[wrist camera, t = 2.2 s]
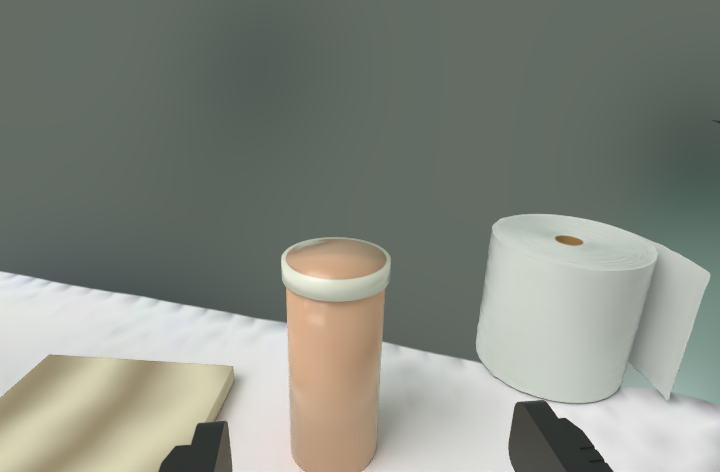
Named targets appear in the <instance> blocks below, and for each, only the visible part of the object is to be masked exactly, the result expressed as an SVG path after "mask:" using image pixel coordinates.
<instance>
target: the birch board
mask: <svg viewBox="0 0 720 472" xmlns="http://www.w3.org/2000/svg"><path fill="white" fill-rule="evenodd" d="M233 382H234V371H233V366H223V365H207V364H191V363H175V362H159V361H144V360H128V359H112V358H96V357H80V356H64V355H48V356H47V357H46V358H45V359H44V360H43V361H42V362H40V363H39V364H38V365H37V366H36V367H35V368H34V369H32V370H31V371H30V372H29V373H28V374H27V375H26V376H25V377H23V378H22V379H21V380H20V381H19V382H18V383H17V384H15V385H14V386H13V387H12V388H11V389H10V390H9V391H8V392H6V393H5V394H4V395H3V396H2V397H1V398H0V472H158V471H159V468H160V465H161V463H162V461H163V460H164V459H165V458H166V457H167V455H168V454H169V453H170V452H171V451H172V449H173V448H174V447H175V446H179V445H191V442H192V439H193V435H194V432H195V428H196V426H197V424H198V423H205V422H215V420H216V418H217V416H218V414H219V411H220V409H221V407H222V405H223V403H224V401H225V399H226V397H227V395H228V393H229V390H230V388H231V386H232V384H233Z"/></svg>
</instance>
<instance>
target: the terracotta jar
mask: <svg viewBox="0 0 720 472" xmlns="http://www.w3.org/2000/svg"><path fill="white" fill-rule="evenodd" d="M281 264H282V281H283V283H284V285H285V286H286V293H287V328H288V363H289V398H290V433H291V452H292V456H293V458H294V460H295V462H296V463H297V465H298V466H299V467H300V468H301V469H302V470H304V471H305V472H360V471H362V470H363V469H365V468H366V467H367V466H368V465H369V464H370V462H371V461H372V459H373V457H374V455H375V451H376V440H377V423H378V405H379V387H380V370H381V352H382V334H383V317H384V299H385V287H386V286H387V285H388V283H389V279H390V265H391V259H390V255H389V254H388V253H387V252H386V251H385V250H384V249H383V248H381V247H379V246H378V245H375V244H373V243H370V242H367V241H363V240H358V239H352V238H342V237H328V238H317V239H311V240H307V241H303V242H300V243H297V244H295V245H293V246H291V247H289V248H288V249H287V250H286V251H285V252H284V253H283V254H282V258H281Z"/></svg>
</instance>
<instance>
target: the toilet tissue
mask: <svg viewBox="0 0 720 472" xmlns="http://www.w3.org/2000/svg"><path fill="white" fill-rule="evenodd" d="M709 279H710V273H709V272H707V271H706V270H705V269H703V268H701V267H700V266H698V265H696V264H695V263H693V262H692V261H690V260H688V259H686V258H684V257H683V256H681V255H680V254H678V253H676V252H673V251H671V250H669V249H668V248H667V247H665V246H663V245H661V244H658V243H655V242H652V241H650V240H648V239H645V238H643V237H641V236H638V235H636V234H633V233H630V232H628V231H625V230H623V229H620V228H617V227H614V226H611V225H608V224H604V223H600V222H596V221H592V220H587V219H582V218H577V217H570V216H562V215H551V214H525V215H516V216H511V217H506V218H501V219H500V220H499V221H497V222H496V223H495V224H494V225H493V226H492V233H491V241H490V246H489V255H488V262H487V269H486V276H485V283H484V291H483V297H482V303H481V307H480V318H479V324H478V327H477V338H476V350H477V353H478V355H479V358H480V360H481V361H482V362H483V364H484V365H485V366H486V368H488V369H489V370H490V371H491V373H492V374H493V376H495V377H497V378H499V379H501V380H502V381H503V382H504V383H505V384H507V385H509V386H511V387H513V388H515V389H517V390H519V391H522V392H525V393H528V394H531V395H533V396H536V397H540V398H544V399H548V400H551V401H558V402H565V403H588V402H596V401H599V400H602V399H605V398H608V397H609V396H611V395H612V394H614V393H615V392H616V391H617V390H618V388H619V387H620V386H621V384H622V382H623V375H624V373H625V371H626V368H627V361H628V362H629V363H630V364H632V365H633V367H634V368H635V369H636V370H637V371H639V372H640V373H641V374H643V375H644V376H645V377H646V378H647V379H648V380H649V381H650V382H651V383H652V384H653V385H654V386H655V387H656V388H657V390H658V391H659V392H660V393H661V394H662V395H663V396H664V397H665V399H666V400H667V402H668V400H669V398H670V393H671V390H672V388H673V386H674V380H675V377H676V374H677V372H678V371H679V365H680V362H681V360H682V359H683V354H684V352H685V351H686V344H687V341H688V340H689V338H690V333H691V331H692V329H693V323H694V320H695V317H696V314H697V311H698V308H699V305H700V302H701V299H702V296H703V293H704V290H705V288H706V286H707V284H708V282H709Z"/></svg>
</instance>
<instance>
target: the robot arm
mask: <svg viewBox="0 0 720 472" xmlns="http://www.w3.org/2000/svg"><path fill="white" fill-rule="evenodd" d="M509 456H510V460H511V464H512V466H513V468H514V470H515V472H613V470H612V469H611V468H610V467H609V465H608V464H607V463H605V462H604V459H603V457H602V456H601V455H600V453H599V452H598V451H597V450H595V448H594V445H593V444H592V443H591V441H590V440H589V439H588V437H587V436H586V435H585V433H584V432H583V431H582V430H581V429H579V428H578V427H577V426H575V425H574V424H573V423H572V422H570V421H569V420H568V419H566V418H559V419H558V417H557V416H556V414H555V413H554V412H553V410H552V409H551V407H550V406H549V405H548V403H547V402H546V401H544V400H539V401H524V402H517V403H516V404H515V408H514V413H513V419H512V426H511V432H510V438H509ZM158 472H232V459H231V449H230V440H229V430H228V423H227V421H219V422H205V423H198V424H197V426H196V428H195V432H194V435H193V439H192V442H191V445H179V446H175V447H174V448H173V449H172V451H171V452H170V453H169V454H168V455H167V457H166V458H165V459H164V460H163V461H162V463H161V465H160V468H159V471H158Z"/></svg>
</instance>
